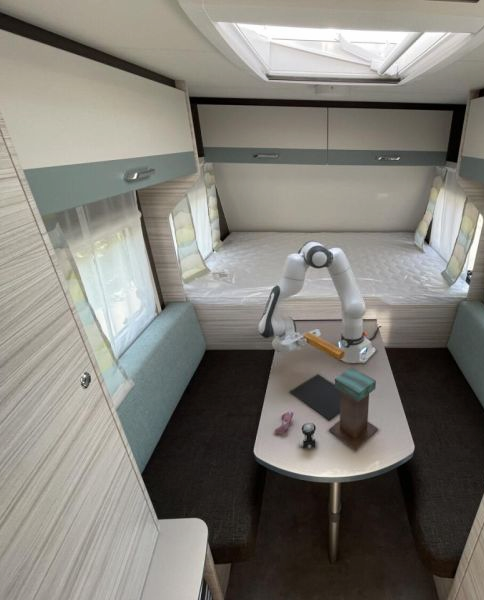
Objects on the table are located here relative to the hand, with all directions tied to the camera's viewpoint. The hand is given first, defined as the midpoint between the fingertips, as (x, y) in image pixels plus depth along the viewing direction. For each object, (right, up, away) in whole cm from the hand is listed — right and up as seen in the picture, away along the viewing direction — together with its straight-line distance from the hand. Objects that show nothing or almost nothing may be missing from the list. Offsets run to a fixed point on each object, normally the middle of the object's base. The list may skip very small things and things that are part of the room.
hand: (310, 338), depth 145 cm
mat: (+5, -28, +7) cm, 29 cm away
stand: (+18, -37, -12) cm, 43 cm away
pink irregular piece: (-10, -36, -10) cm, 38 cm away
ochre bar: (+6, -4, -4) cm, 8 cm away
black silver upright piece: (0, -40, -19) cm, 44 cm away
